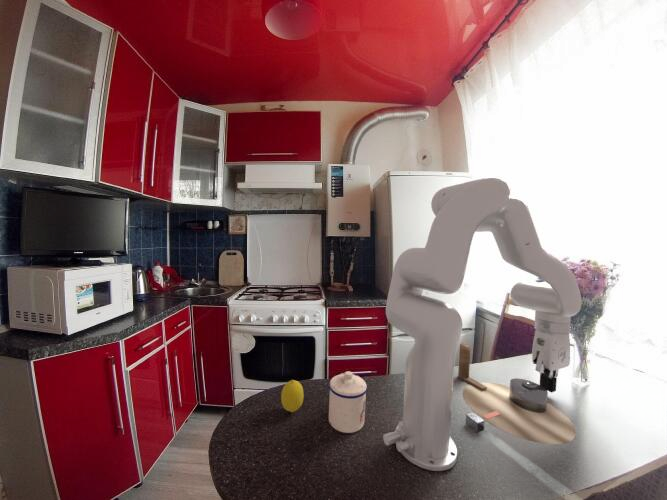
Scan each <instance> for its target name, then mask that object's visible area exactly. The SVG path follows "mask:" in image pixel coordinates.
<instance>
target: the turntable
mask: <svg viewBox="0 0 667 500" xmlns="http://www.w3.org/2000/svg"><path fill="white" fill-rule="evenodd" d="M471 346H472V345H469V344H468V343H460V344H459V354H458V355H459V357H458V358H459V359H458V374H457V375H458V376H457V377H458V379H459V380H462V381H464V382H466V383H468V385H466V386H465V387H464V389H463V391H462V397H463V400H464V402H465V403H466V405H467V406H468V407H469V409H470V410H471V411H472V412H473V413H475V414H476V415H478V416H479V417H480V418H482V419H483V420H485V421H486V422H487V423H488V424H491V425H492V426H493V427H495V428H498V429H499V430H502V431H503V432H505V433H508V434H510V435H512V436H515V437H519V438H521V439H524V440H527V441H530V442H531V441H532V442H536V443H541V444H547V445H563V444H567V443H570V442H571V441H573V440H574V439H575V437H576V434H577V432H576V428H575V426H574V424H573V423H572V421H571V420H570V419H569V417H568V416H566V415H565V414H564V413H563V412H562V411H561V410H560V409H558V408H557V407H555V406H554V405H552V404H551V403H549V402H547V409H546V412H543V413H537V412H532V411H528V410H526V409H523V408H521V407H519V406H517V405H516V404H514V403H513V402H512V401H511V400H510V398H509V393H510V385H506V384H500V383H494V382H485V381H483V382H481V381H480V382H478V381H477V380H475V379H473V378H472V377H470V363H471V351H472V349H471V348H472V347H471ZM485 421H484V422H485Z"/></svg>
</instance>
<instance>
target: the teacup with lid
mask: <svg viewBox="0 0 667 500" xmlns="http://www.w3.org/2000/svg"><path fill="white" fill-rule="evenodd" d="M328 387H329V399H328V400H329V403H328V404H329V405H328V422H329V424H330V426H331V428H333V429H335V431H338V432H340V433H346V434H353V433H356V432H358V431H360V430H361V429H362V428H363V427H364V424H365V420H366V419H365V418H366V416H365V415H366V400H367V399H366V398H367V397H366V394H367V391H368V385H367V383H366V381H365V380H364V379H363V378H362V377H360V376H359V375H356V374H353V372H352V371H350V370H349V371H345V372H344V373H340V374H338V375H334V376H333V377H332V378H331V379H330V381H329V384H328Z"/></svg>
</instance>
